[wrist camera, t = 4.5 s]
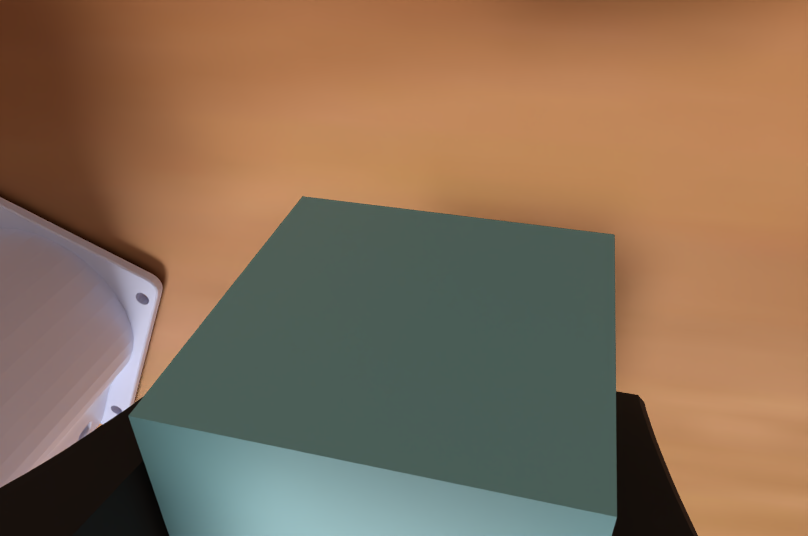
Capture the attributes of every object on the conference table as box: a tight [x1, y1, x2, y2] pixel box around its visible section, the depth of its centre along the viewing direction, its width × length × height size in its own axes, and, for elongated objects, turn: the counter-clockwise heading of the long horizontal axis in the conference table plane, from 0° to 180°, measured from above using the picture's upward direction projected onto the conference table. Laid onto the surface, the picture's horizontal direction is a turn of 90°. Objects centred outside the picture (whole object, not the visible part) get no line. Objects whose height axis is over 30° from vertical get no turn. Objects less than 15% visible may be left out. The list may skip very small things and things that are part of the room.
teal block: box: [128, 196, 617, 536], centre depth 10 cm, size 5×5×5 cm
